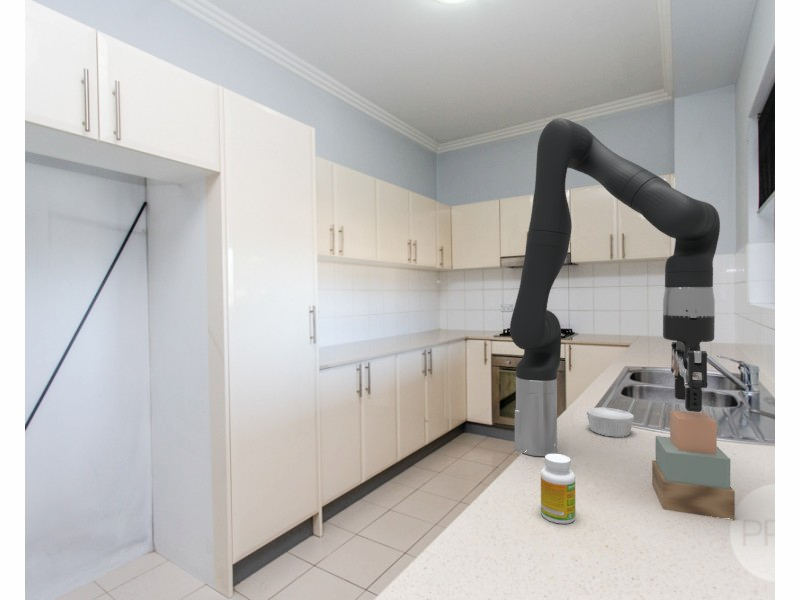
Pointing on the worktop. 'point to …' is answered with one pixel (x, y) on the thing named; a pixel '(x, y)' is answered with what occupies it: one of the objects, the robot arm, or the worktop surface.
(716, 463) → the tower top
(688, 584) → the worktop surface
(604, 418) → the ramekin
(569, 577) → the worktop surface
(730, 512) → the tower base
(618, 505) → the worktop surface
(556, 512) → the supplement bottle
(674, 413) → the terracotta cube
